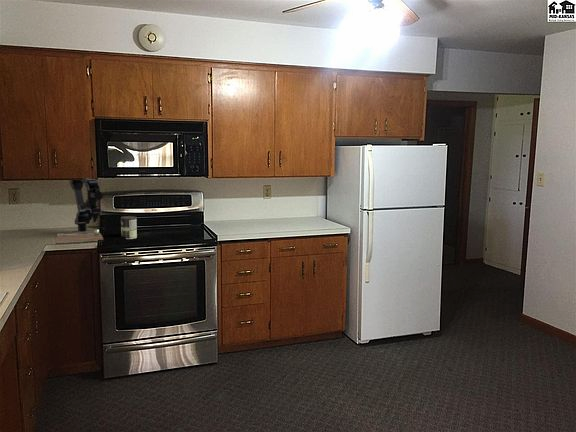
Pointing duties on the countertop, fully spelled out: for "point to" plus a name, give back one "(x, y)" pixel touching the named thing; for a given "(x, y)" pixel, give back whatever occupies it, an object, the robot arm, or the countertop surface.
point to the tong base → (65, 234)
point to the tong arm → (96, 232)
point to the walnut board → (79, 239)
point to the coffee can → (129, 227)
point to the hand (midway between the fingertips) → (92, 221)
